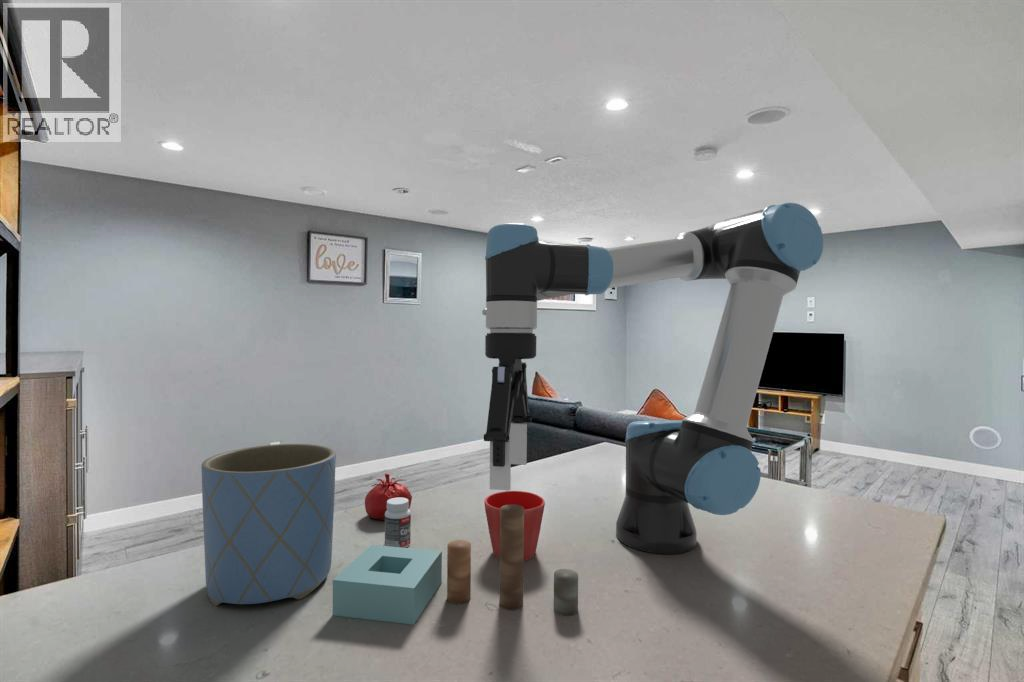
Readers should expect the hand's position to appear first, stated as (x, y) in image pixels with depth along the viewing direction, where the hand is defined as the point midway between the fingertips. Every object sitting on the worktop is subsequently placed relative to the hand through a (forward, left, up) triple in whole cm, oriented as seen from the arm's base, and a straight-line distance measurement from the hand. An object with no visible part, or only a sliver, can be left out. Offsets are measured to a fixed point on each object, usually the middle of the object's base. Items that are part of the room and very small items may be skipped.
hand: (509, 475), depth 74 cm
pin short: (-8, 0, -19) cm, 21 cm away
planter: (+38, +1, -19) cm, 43 cm away
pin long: (0, 0, -19) cm, 19 cm away
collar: (+18, +2, -19) cm, 26 cm away
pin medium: (+8, 0, -19) cm, 20 cm away
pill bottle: (+24, -16, -19) cm, 34 cm away
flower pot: (+2, -17, -19) cm, 25 cm away
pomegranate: (+32, -30, -19) cm, 48 cm away
